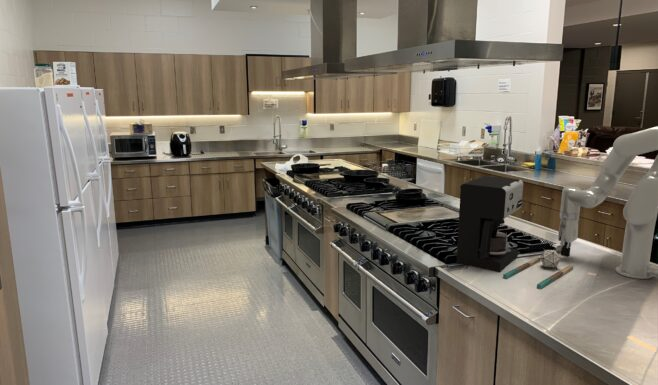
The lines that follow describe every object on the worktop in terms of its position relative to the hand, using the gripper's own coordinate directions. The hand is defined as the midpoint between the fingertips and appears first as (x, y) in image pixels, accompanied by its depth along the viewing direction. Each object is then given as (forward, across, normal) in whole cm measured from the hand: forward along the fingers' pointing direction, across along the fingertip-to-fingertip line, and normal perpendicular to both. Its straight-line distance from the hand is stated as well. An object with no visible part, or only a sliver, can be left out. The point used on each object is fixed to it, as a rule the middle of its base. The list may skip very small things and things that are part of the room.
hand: (565, 255), depth 211 cm
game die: (+2, -16, 0) cm, 16 cm away
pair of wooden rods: (+1, -26, 0) cm, 26 cm away
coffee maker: (+2, -28, +22) cm, 36 cm away
